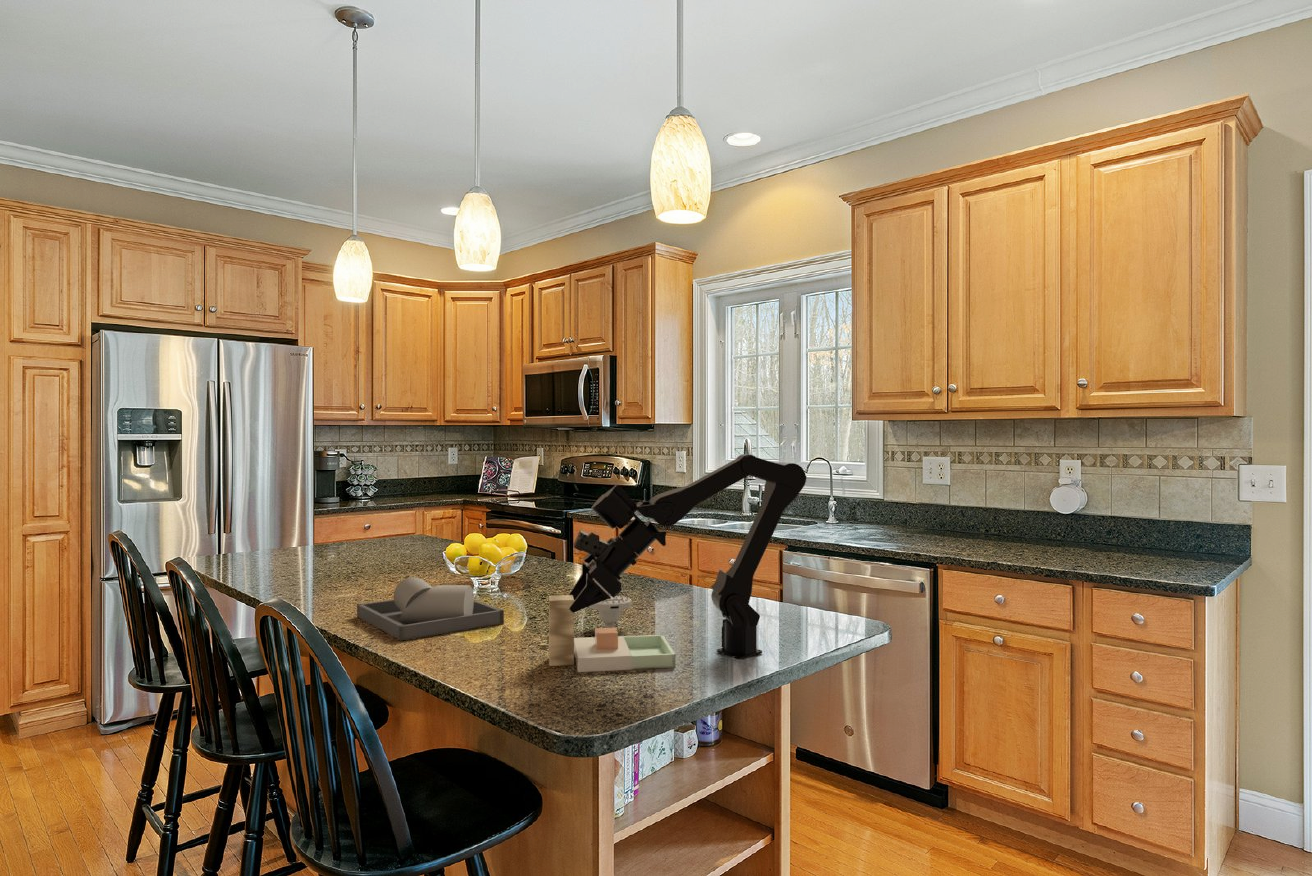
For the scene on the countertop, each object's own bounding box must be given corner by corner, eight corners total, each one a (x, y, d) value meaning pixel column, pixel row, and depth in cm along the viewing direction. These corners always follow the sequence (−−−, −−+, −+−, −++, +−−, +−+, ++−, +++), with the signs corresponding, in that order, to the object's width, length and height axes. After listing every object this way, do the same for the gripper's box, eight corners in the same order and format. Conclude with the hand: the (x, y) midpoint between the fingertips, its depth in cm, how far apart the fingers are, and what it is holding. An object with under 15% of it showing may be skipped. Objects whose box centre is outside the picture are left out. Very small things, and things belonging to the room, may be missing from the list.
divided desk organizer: (503, 623, 173) (503, 610, 173) (400, 641, 158) (400, 626, 158) (452, 603, 194) (452, 591, 194) (357, 617, 179) (357, 604, 179)
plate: (623, 648, 153) (623, 636, 153) (632, 669, 139) (632, 655, 139) (573, 650, 151) (573, 638, 151) (577, 672, 138) (577, 658, 138)
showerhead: (625, 589, 175) (636, 598, 166) (625, 621, 175) (636, 632, 166) (584, 592, 173) (593, 601, 163) (584, 624, 173) (593, 635, 163)
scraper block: (572, 657, 147) (572, 595, 147) (573, 664, 142) (574, 600, 142) (548, 658, 146) (548, 595, 146) (549, 665, 141) (549, 600, 141)
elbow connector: (369, 623, 167) (461, 624, 166) (373, 574, 169) (464, 574, 169) (397, 622, 184) (480, 622, 184) (401, 577, 186) (483, 578, 186)
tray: (662, 646, 154) (662, 634, 154) (675, 667, 140) (675, 654, 140) (623, 648, 153) (623, 636, 153) (632, 669, 139) (632, 656, 139)
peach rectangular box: (615, 643, 148) (615, 627, 148) (618, 648, 144) (618, 632, 144) (594, 644, 147) (594, 628, 147) (596, 649, 143) (596, 633, 143)
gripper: (594, 511, 154) (538, 567, 153) (603, 521, 136) (539, 585, 134) (633, 550, 156) (578, 605, 154) (647, 565, 137) (584, 628, 135)
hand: (569, 605), depth 144 cm, fingers open, 9 cm apart
